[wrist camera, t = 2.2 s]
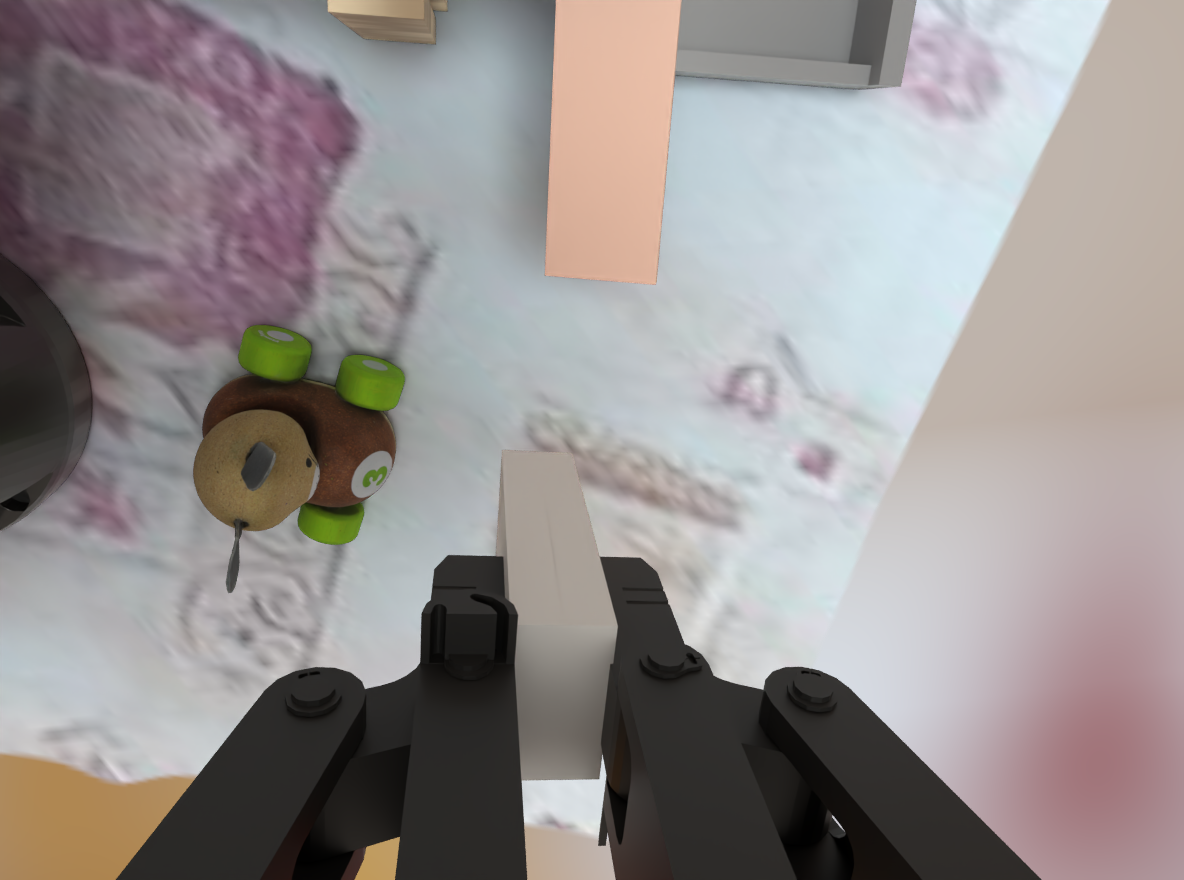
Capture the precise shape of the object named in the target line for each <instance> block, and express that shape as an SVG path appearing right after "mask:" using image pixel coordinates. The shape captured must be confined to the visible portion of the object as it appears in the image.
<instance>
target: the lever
mask: <svg viewBox="0 0 1184 880" xmlns="http://www.w3.org/2000/svg"><path fill="white" fill-rule="evenodd" d="M681 3H682V0H556V13H555V38H554V63H553V87H552V112H551V137H550V161H549V186H548V211H547V235H546V260H545V276H556V277H568V278H580V279H592V280H604V281H616V282H628V283H640V284H652V285H656V282H657V271H658V260H659V249H660V238H661V227H662V216H663V204H664V193H665V182H666V171H667V160H668V148H669V137H670V126H671V115H672V104H673V93H674V81H675V70H676V59H677V48H678V37H679V26H680V14H681Z"/></svg>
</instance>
